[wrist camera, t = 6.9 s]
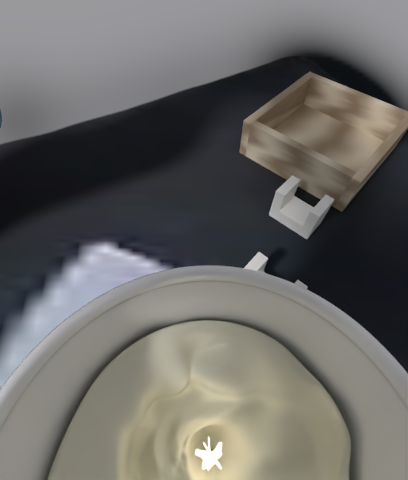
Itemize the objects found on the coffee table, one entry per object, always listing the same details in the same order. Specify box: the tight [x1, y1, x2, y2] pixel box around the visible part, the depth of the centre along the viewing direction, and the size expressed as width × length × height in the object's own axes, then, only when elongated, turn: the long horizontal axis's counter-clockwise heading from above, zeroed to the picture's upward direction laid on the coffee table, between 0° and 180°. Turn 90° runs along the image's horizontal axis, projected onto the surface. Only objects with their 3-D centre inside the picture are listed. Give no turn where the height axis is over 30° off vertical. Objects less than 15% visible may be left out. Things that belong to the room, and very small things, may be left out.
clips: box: [244, 175, 335, 289], centre depth 28 cm, size 8×13×4 cm, turn 138°
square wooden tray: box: [240, 72, 408, 212], centre depth 37 cm, size 15×15×5 cm
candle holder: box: [0, 266, 408, 480], centre depth 10 cm, size 10×10×12 cm
